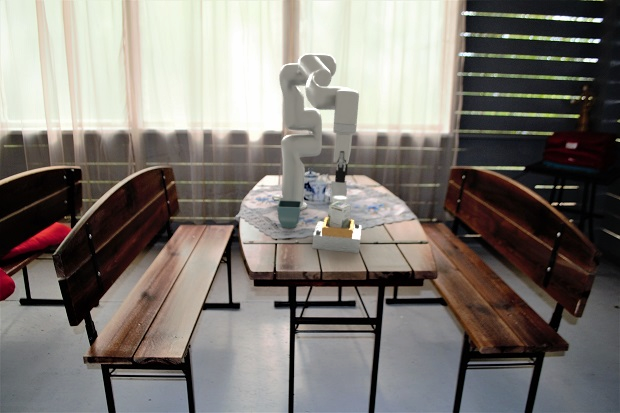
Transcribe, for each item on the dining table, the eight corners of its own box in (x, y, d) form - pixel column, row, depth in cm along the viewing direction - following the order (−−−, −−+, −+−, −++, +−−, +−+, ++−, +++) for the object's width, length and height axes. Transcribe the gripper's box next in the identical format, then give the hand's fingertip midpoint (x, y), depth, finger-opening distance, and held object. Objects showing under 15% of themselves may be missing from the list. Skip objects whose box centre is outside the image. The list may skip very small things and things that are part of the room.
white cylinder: (350, 213, 193) (351, 197, 191) (340, 216, 188) (341, 200, 186) (338, 209, 197) (339, 193, 195) (328, 212, 193) (329, 196, 190)
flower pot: (278, 221, 179) (279, 199, 177) (300, 222, 179) (301, 200, 176) (276, 229, 171) (276, 206, 168) (299, 230, 171) (300, 207, 168)
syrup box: (334, 238, 165) (336, 200, 160) (348, 242, 162) (351, 203, 157) (325, 243, 160) (328, 204, 156) (340, 247, 157) (343, 207, 152)
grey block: (345, 203, 206) (347, 182, 203) (331, 203, 205) (332, 182, 202) (344, 201, 209) (345, 180, 206) (329, 201, 208) (331, 180, 205)
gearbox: (312, 248, 155) (313, 228, 152) (317, 233, 168) (318, 214, 166) (358, 253, 153) (360, 232, 151) (360, 238, 166) (362, 218, 164)
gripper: (335, 123, 156) (332, 171, 162) (330, 131, 140) (327, 184, 146) (357, 125, 156) (353, 173, 161) (354, 133, 139) (350, 186, 145)
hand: (341, 178), depth 153 cm, fingers open, 9 cm apart
